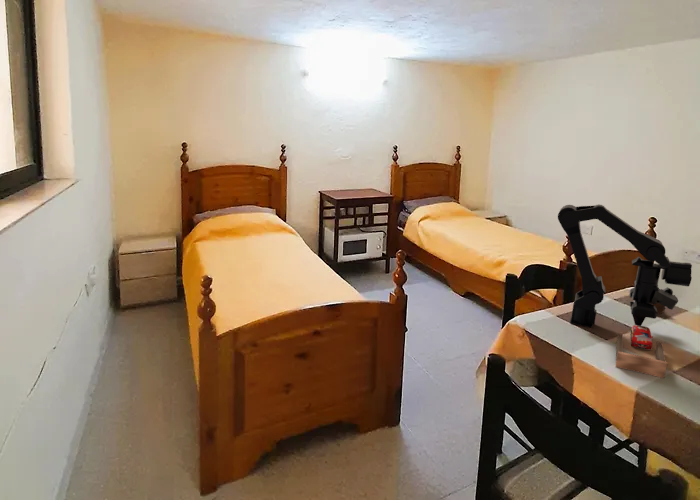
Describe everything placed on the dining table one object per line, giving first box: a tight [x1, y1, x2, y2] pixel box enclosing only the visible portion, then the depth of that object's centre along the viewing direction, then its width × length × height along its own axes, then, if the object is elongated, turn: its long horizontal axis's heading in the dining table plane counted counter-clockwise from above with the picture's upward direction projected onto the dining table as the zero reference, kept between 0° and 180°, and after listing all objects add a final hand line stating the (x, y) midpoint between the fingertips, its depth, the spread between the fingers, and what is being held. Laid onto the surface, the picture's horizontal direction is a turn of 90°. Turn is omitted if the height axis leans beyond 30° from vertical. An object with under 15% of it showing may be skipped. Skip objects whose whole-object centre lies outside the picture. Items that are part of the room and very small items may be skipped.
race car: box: [630, 324, 654, 351], centre depth 138 cm, size 13×5×4 cm, turn 149°
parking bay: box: [615, 333, 668, 379], centre depth 127 cm, size 11×16×4 cm
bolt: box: [650, 302, 667, 315], centre depth 166 cm, size 6×5×15 cm
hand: (637, 327), depth 144 cm, fingers closed
